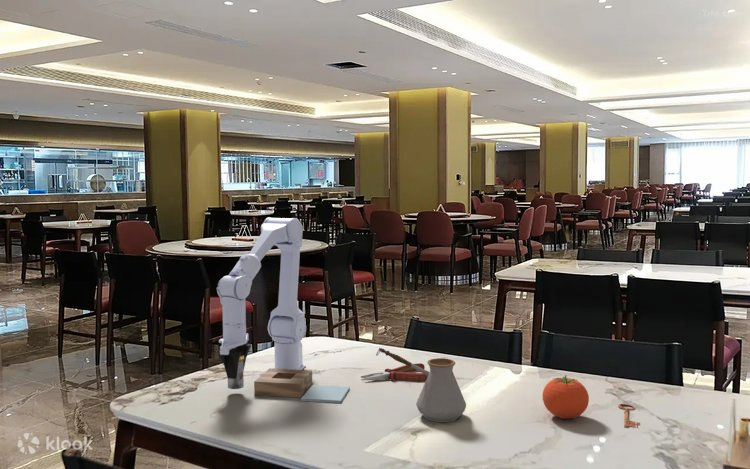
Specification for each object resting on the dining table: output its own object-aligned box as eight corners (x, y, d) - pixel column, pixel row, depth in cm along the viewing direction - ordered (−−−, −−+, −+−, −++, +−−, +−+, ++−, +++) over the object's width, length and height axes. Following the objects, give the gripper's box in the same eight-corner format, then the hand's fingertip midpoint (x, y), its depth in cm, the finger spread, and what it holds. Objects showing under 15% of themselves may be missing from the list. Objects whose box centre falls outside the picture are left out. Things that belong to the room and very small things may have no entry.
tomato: (586, 411, 155) (587, 370, 154) (589, 427, 145) (591, 383, 144) (542, 408, 157) (542, 367, 157) (542, 423, 148) (542, 379, 147)
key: (644, 433, 144) (643, 410, 158) (645, 429, 144) (644, 406, 158) (616, 427, 146) (617, 405, 160) (616, 423, 146) (618, 401, 160)
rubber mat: (312, 387, 174) (312, 385, 174) (349, 389, 172) (349, 386, 172) (301, 400, 163) (301, 398, 163) (340, 403, 161) (340, 400, 161)
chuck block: (269, 380, 179) (269, 368, 179) (312, 383, 177) (312, 370, 177) (254, 394, 168) (254, 381, 167) (300, 397, 166) (299, 383, 165)
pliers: (356, 376, 185) (356, 367, 185) (423, 370, 191) (423, 361, 191) (368, 388, 174) (368, 379, 174) (438, 381, 180) (438, 372, 180)
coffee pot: (470, 410, 156) (470, 348, 155) (461, 428, 145) (461, 361, 144) (383, 401, 162) (383, 341, 161) (369, 417, 152) (368, 353, 150)
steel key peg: (230, 383, 171) (230, 353, 170) (246, 384, 170) (246, 354, 169) (224, 388, 166) (223, 357, 166) (240, 389, 166) (240, 358, 165)
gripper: (230, 316, 175) (231, 366, 176) (207, 328, 161) (209, 383, 162) (255, 317, 174) (256, 367, 175) (235, 329, 159) (236, 384, 160)
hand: (235, 375), depth 168 cm, fingers closed on steel key peg, 4 cm apart
